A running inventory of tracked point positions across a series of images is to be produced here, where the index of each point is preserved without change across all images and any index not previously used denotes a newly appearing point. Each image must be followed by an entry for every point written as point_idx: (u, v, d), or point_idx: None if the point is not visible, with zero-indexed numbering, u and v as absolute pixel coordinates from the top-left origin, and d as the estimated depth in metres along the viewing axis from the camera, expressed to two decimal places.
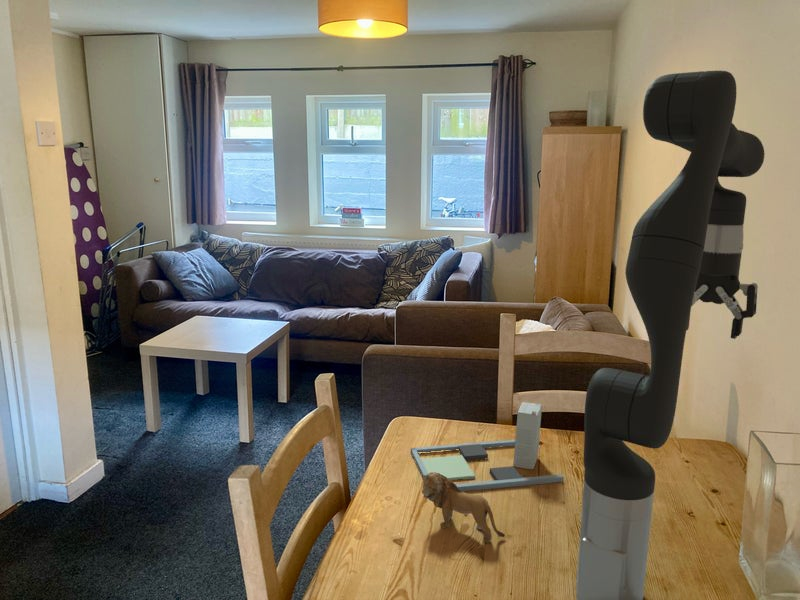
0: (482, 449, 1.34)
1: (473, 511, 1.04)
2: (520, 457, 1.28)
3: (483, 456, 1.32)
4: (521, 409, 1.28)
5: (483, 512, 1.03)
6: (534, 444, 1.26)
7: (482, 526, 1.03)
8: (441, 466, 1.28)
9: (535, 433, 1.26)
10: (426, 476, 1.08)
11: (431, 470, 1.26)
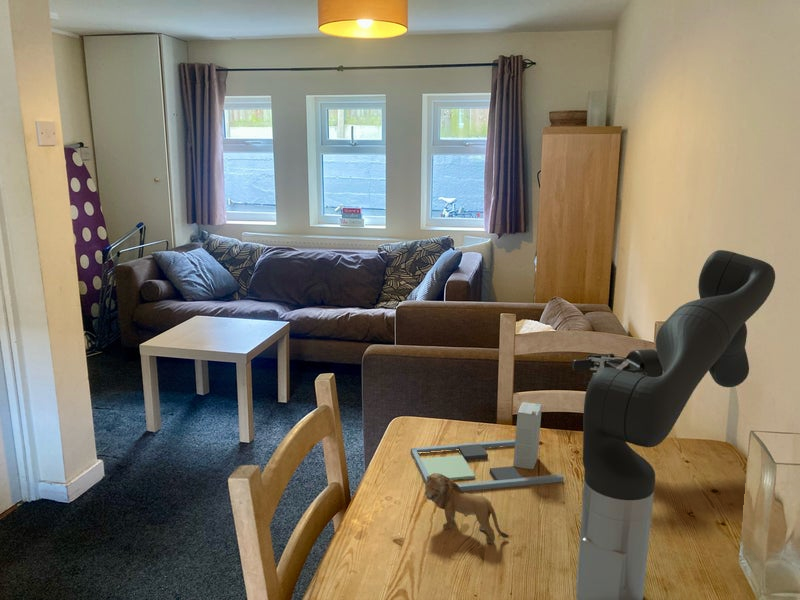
0: (482, 449, 1.34)
1: (476, 512, 1.03)
2: (520, 457, 1.28)
3: (483, 456, 1.32)
4: (521, 409, 1.28)
5: (486, 513, 1.03)
6: (534, 444, 1.26)
7: (485, 527, 1.03)
8: (441, 466, 1.28)
9: (535, 433, 1.26)
10: (429, 477, 1.07)
11: (431, 470, 1.26)
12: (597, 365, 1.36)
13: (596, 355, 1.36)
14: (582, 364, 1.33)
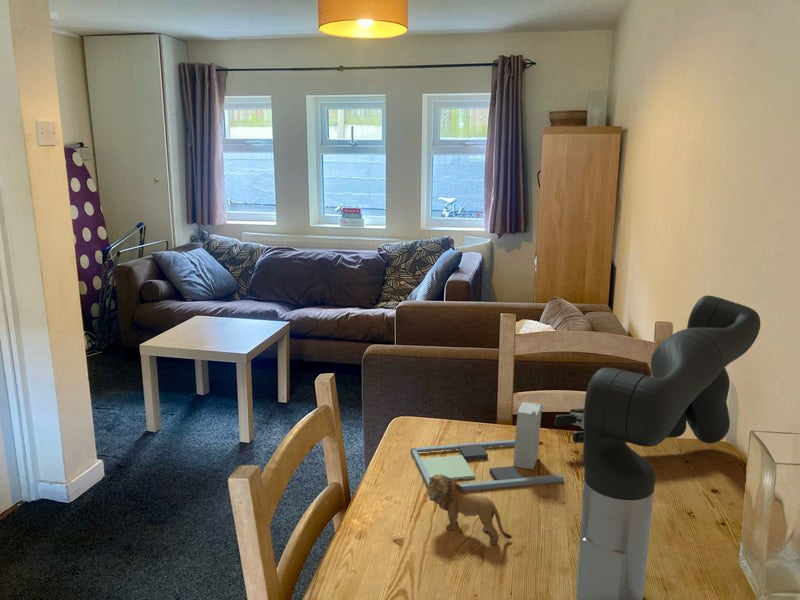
0: (482, 449, 1.34)
1: (480, 513, 1.03)
2: (520, 457, 1.28)
3: (483, 456, 1.32)
4: (521, 409, 1.28)
5: (490, 514, 1.02)
6: (534, 444, 1.26)
7: (489, 528, 1.03)
8: (441, 466, 1.28)
9: (535, 433, 1.26)
10: (431, 478, 1.07)
11: (431, 470, 1.26)
12: (579, 420, 1.38)
13: (578, 410, 1.38)
14: (564, 419, 1.35)
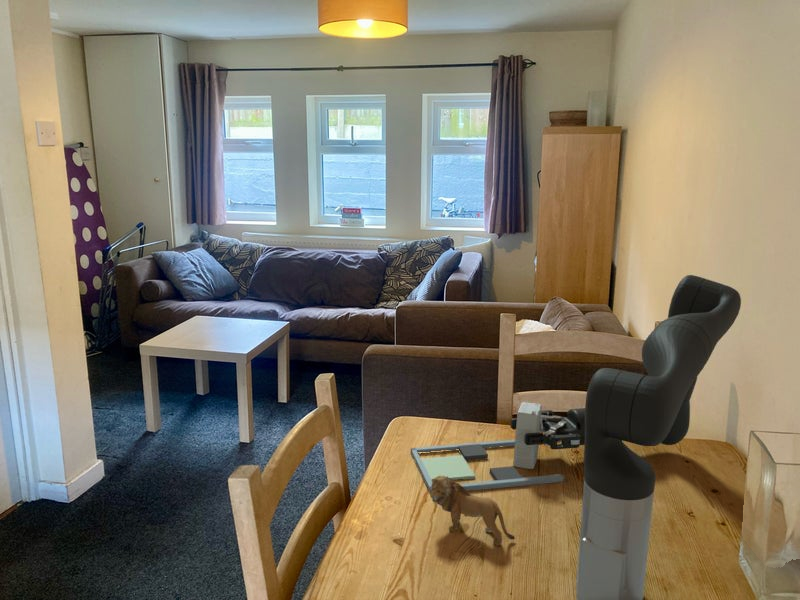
0: (482, 449, 1.34)
1: (483, 514, 1.03)
2: (520, 456, 1.28)
3: (483, 456, 1.32)
4: (521, 409, 1.28)
5: (493, 515, 1.02)
6: None
7: (492, 529, 1.02)
8: (441, 466, 1.28)
9: None
10: (434, 480, 1.07)
11: (431, 470, 1.26)
12: None
13: None
14: None
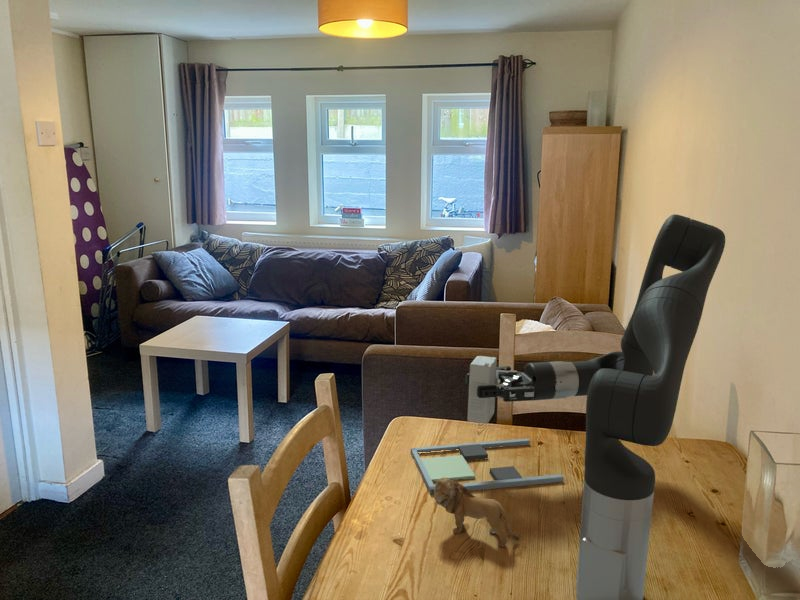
0: (482, 449, 1.34)
1: (488, 516, 1.02)
2: (474, 411, 1.24)
3: (483, 456, 1.32)
4: (475, 361, 1.23)
5: (498, 516, 1.02)
6: None
7: (497, 530, 1.02)
8: (441, 466, 1.28)
9: None
10: (438, 482, 1.06)
11: (431, 470, 1.26)
12: None
13: None
14: None
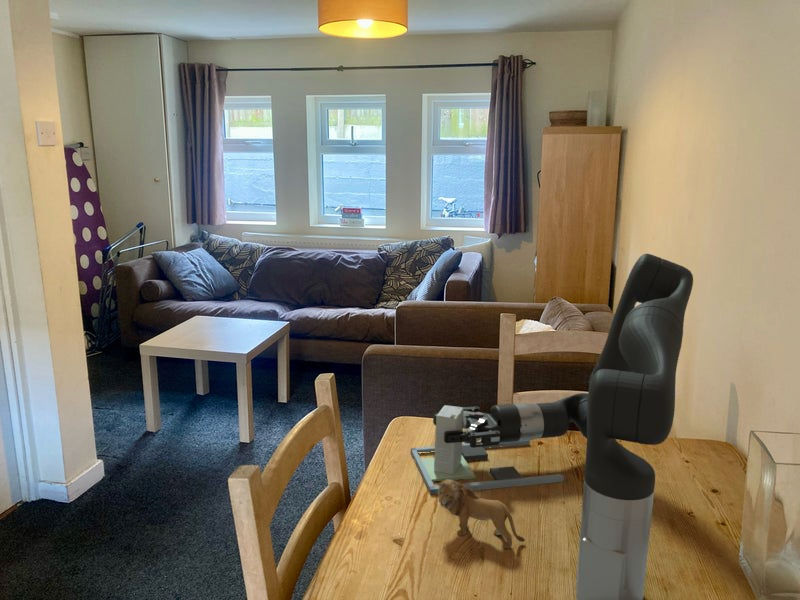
0: (482, 449, 1.34)
1: (493, 517, 1.02)
2: (440, 461, 1.24)
3: (483, 456, 1.32)
4: (441, 412, 1.24)
5: (503, 518, 1.01)
6: (453, 448, 1.23)
7: (503, 532, 1.01)
8: None
9: None
10: (442, 484, 1.05)
11: (431, 470, 1.26)
12: None
13: None
14: None
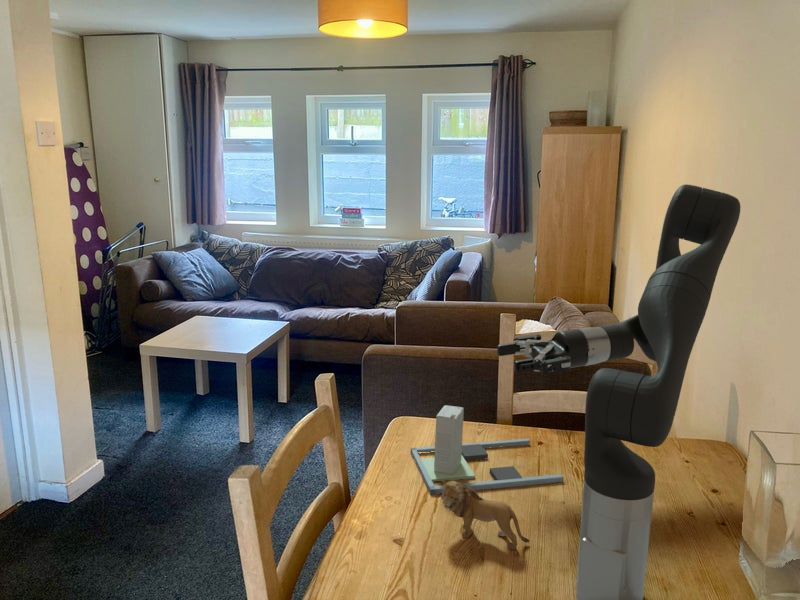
0: (482, 449, 1.34)
1: (498, 518, 1.02)
2: (440, 461, 1.24)
3: (483, 456, 1.32)
4: (441, 412, 1.24)
5: (508, 519, 1.01)
6: (453, 448, 1.23)
7: (508, 533, 1.01)
8: None
9: (454, 437, 1.22)
10: (446, 485, 1.05)
11: (431, 470, 1.26)
12: (524, 348, 1.31)
13: (522, 337, 1.30)
14: (507, 349, 1.28)
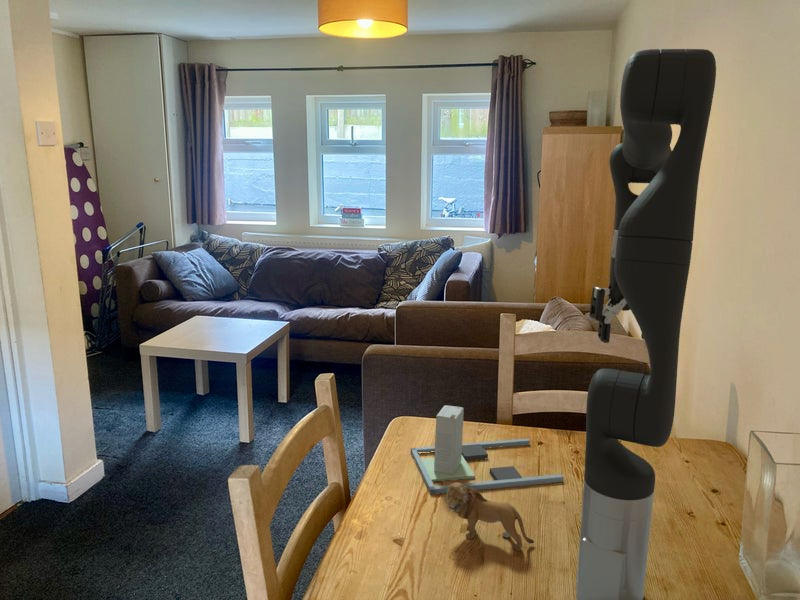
0: (482, 449, 1.34)
1: (503, 520, 1.01)
2: (440, 461, 1.24)
3: (483, 456, 1.32)
4: (441, 412, 1.24)
5: (513, 520, 1.01)
6: (453, 448, 1.23)
7: (513, 534, 1.01)
8: None
9: (454, 437, 1.22)
10: (450, 487, 1.04)
11: (431, 470, 1.26)
12: None
13: (600, 310, 1.15)
14: None
